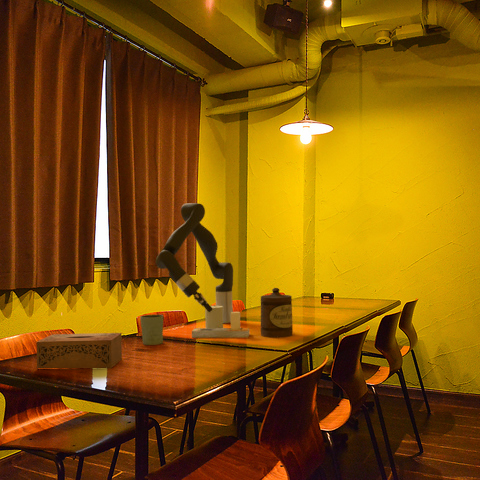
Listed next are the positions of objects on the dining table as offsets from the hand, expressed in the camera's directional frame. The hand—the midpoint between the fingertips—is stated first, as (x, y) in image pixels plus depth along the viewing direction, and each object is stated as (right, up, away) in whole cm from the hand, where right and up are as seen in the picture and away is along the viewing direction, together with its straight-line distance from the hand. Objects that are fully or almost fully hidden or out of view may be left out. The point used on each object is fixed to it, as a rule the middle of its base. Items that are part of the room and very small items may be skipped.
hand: (211, 310), depth 226 cm
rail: (+5, -12, -2) cm, 13 cm away
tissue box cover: (-43, -12, -53) cm, 70 cm away
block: (+12, -12, -2) cm, 17 cm away
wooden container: (+31, -11, -1) cm, 33 cm away
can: (+1, -12, +18) cm, 22 cm away
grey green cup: (-25, -12, -16) cm, 32 cm away
